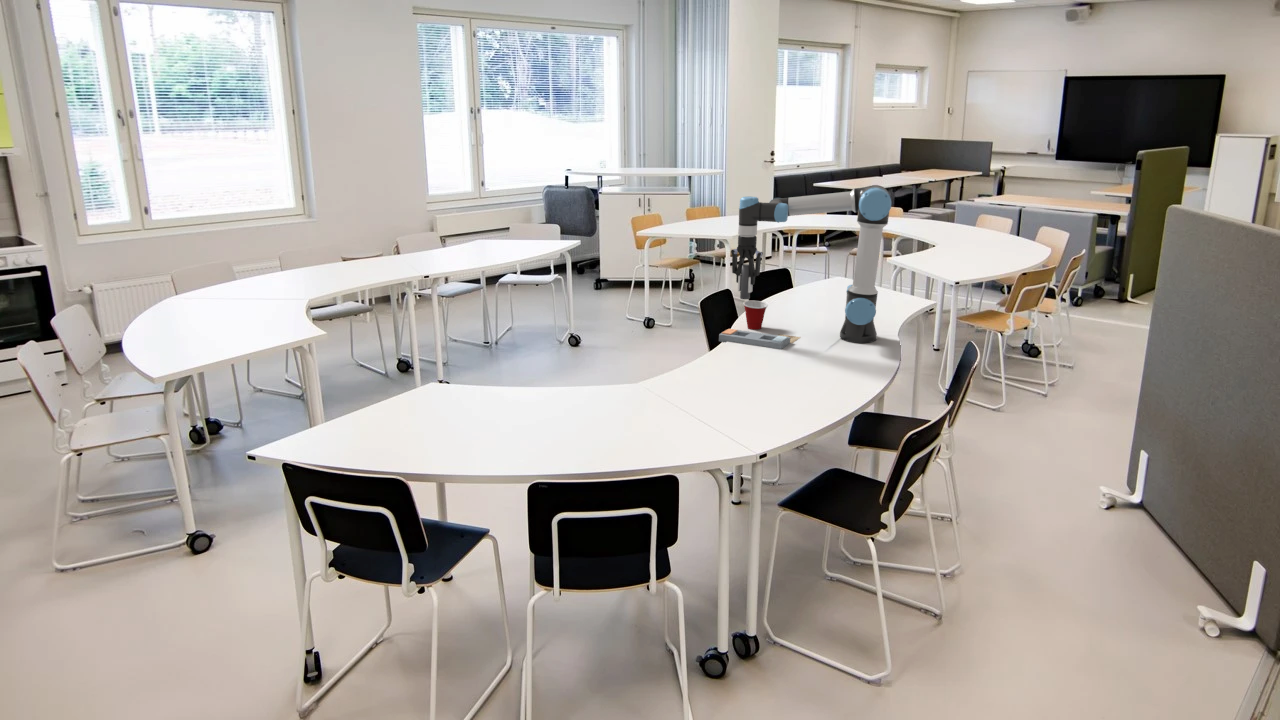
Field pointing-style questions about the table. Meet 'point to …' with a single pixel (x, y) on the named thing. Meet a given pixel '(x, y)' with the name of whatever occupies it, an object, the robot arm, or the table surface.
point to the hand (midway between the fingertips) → (745, 291)
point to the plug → (744, 281)
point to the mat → (792, 338)
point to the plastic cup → (754, 313)
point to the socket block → (754, 338)
